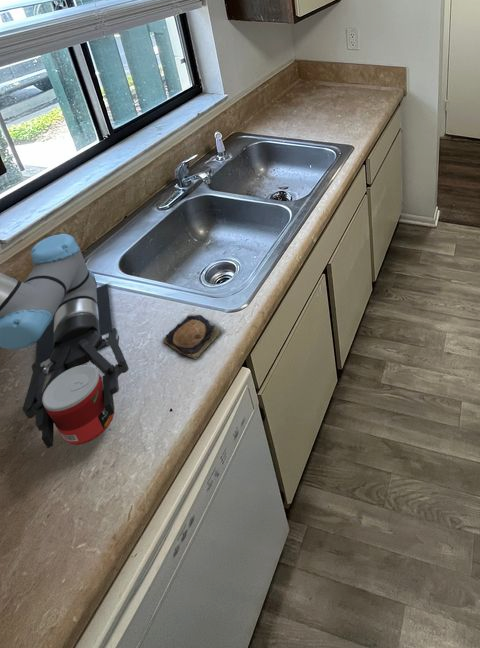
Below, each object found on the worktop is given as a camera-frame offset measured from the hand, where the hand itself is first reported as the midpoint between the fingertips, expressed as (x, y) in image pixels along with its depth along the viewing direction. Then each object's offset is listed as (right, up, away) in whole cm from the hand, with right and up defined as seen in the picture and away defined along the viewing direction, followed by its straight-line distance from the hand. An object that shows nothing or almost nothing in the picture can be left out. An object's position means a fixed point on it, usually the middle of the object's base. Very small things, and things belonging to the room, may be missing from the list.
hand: (79, 425), depth 73 cm
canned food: (-3, -4, +6) cm, 8 cm away
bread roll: (+7, +1, +26) cm, 27 cm away
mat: (-22, +2, +29) cm, 36 cm away
